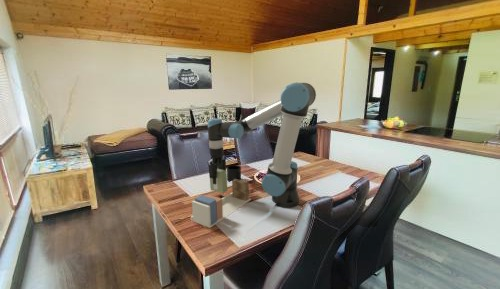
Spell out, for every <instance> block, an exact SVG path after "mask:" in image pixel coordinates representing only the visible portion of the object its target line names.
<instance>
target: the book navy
mask: <svg viewBox="0 0 500 289" xmlns="http://www.w3.org/2000/svg"><path fill="white" fill-rule="evenodd" d="M206 196H207V195H203V194H201V195H199V196H197V197H195V198H194V201H196V202H199V203H202V204H205V205H208V206H210V217H211V225H212V224H214V223H215V222H217V208H216V199H213V198H209V197H206Z"/></svg>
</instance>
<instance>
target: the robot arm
mask: <svg viewBox="0 0 500 289" xmlns="http://www.w3.org/2000/svg"><path fill="white" fill-rule="evenodd" d="M316 98H317V94H316V89H315V87H314V86H313V85H312V84H310V83H309V82H292V83H290V84H288V85H286V86H285V87H284V88H283V90H282V91H281V93H280V99H279V100H277V101H275V102H273V103H271V104H269V105H267V106H265V107H264V108H261V109H260V110H258V111H256V112H254V113H252V114H250V115H249V116H246V117H245V118H243V119H241V120H237V121H235V122H229V123H228V122H226V123H225V122H223V121H222V119H221V118H209V119H208V121H207V133H208V134H207V135H208V145H209V146H208V147H209V150H208V151H209V155H210V160H207V162H206V163H207V165H208V173H209V175H208V176H209V179H210V178H212V179H213V184H214V189H217V190H218V178H217V169H222V170H226V171H227V163H226V162H227V156H226V155H224V139H223V138H229V139H242V137H243V135H245V134H248V133H249V132H251V131H252V130H254V129H257V128H259V127H260V126H263V125H265V124H267V123H269V122H271V121H273V120H275V119H278V118H279V117H281V116H282V119H281V123H280V124H281V125H280V128H279V132H278V136H277V140H276V144H275V149H274V155H273V159H272V162H271V163H269V164H268V166H267V172H266V175H264V176H263V178H262V180H261V188H262V189H263V190H264V192H265V193H266V194H267V195H269V196H271V200H272V203H274V206H277V207H281V208H294V207H297V206H298V205H299V204H300V194H299V192H298V188H297V187H298V186H297V185H298V164H297V162H295V161H293V156H294V152H295V148H296V144H297V141H298V137H299V132H300V129H301V125H302V121H303V120H304V119H305V118H306V117H307V116H308V111H309V107H310V106H312V105H313V103H314V102H315V101H316Z"/></svg>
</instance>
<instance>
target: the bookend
mask: <svg viewBox="0 0 500 289" xmlns="http://www.w3.org/2000/svg"><path fill="white" fill-rule="evenodd" d="M249 184H250V182H249V181H246V180H243V179H241V180H238V179H234V180H232V181H231V186H232V192H233V197H234V198H237V199H241V200H244V201H246V200H248V199H250V196H249V195H250V194H249V193H250V192H249V190H250V189H249V188H250V187H249V186H250V185H249ZM232 192H231V193H232Z"/></svg>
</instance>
